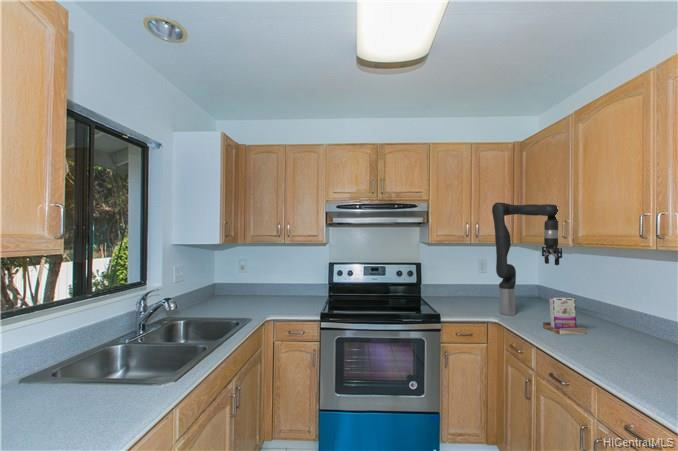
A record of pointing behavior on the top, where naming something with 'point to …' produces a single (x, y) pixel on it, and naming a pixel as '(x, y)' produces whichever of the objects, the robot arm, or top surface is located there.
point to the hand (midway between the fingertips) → (551, 264)
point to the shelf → (564, 329)
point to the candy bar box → (562, 313)
